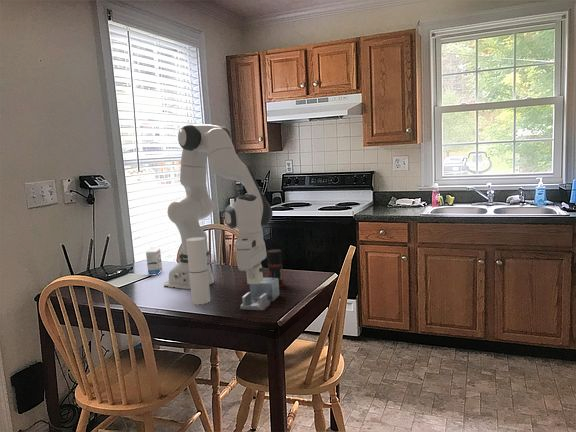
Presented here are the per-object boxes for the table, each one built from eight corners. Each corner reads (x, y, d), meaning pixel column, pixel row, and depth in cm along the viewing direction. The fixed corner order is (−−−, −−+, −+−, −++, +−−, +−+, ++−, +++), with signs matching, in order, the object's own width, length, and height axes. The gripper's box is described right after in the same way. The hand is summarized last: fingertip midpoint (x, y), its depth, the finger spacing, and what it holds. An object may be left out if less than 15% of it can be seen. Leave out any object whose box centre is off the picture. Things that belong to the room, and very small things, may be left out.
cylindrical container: (194, 305, 180) (188, 241, 177) (190, 300, 187) (184, 238, 183) (212, 302, 183) (206, 239, 180) (207, 297, 190) (202, 236, 186)
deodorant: (281, 287, 197) (279, 252, 195) (268, 287, 198) (265, 252, 196) (284, 283, 203) (282, 249, 201) (271, 283, 204) (268, 249, 202)
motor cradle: (263, 310, 170) (262, 291, 169) (240, 309, 173) (239, 290, 172) (281, 293, 189) (279, 276, 188) (260, 292, 192) (258, 275, 191)
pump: (264, 283, 170) (262, 267, 169) (247, 283, 172) (245, 267, 171) (268, 280, 174) (266, 264, 174) (251, 280, 176) (250, 264, 175)
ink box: (158, 275, 232) (155, 251, 230) (148, 275, 232) (145, 252, 230) (162, 270, 240) (160, 248, 238) (153, 271, 240) (150, 248, 239)
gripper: (253, 234, 182) (256, 269, 184) (231, 245, 163) (235, 284, 165) (268, 234, 180) (271, 269, 182) (248, 245, 161) (252, 284, 163)
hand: (254, 276), depth 173 cm, fingers closed on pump, 4 cm apart
